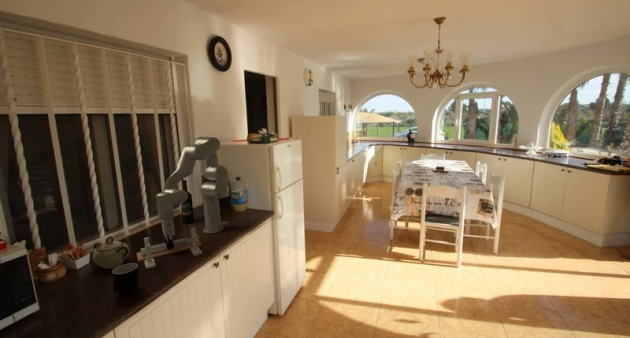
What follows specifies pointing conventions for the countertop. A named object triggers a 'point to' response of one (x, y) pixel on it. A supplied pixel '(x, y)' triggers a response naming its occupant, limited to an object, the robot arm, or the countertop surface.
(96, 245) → the sugar bowl
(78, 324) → the countertop surface
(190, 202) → the wine bottle
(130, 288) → the mug
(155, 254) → the terracotta mat
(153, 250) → the steel rail
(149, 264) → the shelf brackets
